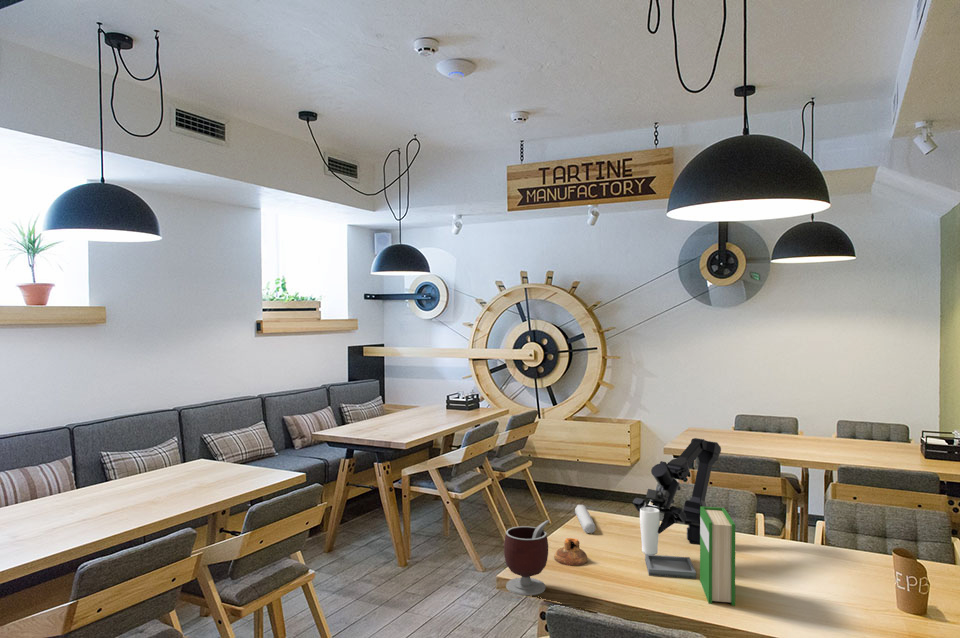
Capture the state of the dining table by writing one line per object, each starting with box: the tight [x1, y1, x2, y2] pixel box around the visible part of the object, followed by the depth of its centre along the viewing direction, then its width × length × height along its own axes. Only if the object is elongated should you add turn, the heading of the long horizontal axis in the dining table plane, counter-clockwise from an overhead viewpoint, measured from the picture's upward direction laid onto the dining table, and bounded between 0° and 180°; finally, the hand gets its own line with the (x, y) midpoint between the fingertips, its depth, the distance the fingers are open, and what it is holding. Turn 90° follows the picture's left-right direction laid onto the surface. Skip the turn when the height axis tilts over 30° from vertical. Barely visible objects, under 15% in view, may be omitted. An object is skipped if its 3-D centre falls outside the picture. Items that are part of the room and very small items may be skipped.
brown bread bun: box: [553, 537, 589, 567], centre depth 223 cm, size 12×12×7 cm
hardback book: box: [699, 506, 736, 607], centre depth 196 cm, size 18×7×24 cm, turn 169°
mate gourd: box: [503, 519, 550, 597], centre depth 199 cm, size 16×14×20 cm
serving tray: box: [644, 554, 697, 580], centre depth 214 cm, size 15×14×2 cm
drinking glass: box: [639, 507, 661, 555], centre depth 220 cm, size 7×7×15 cm
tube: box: [574, 504, 596, 534], centre depth 262 cm, size 5×5×25 cm
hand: (650, 530), depth 220 cm, fingers closed on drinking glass, 6 cm apart
